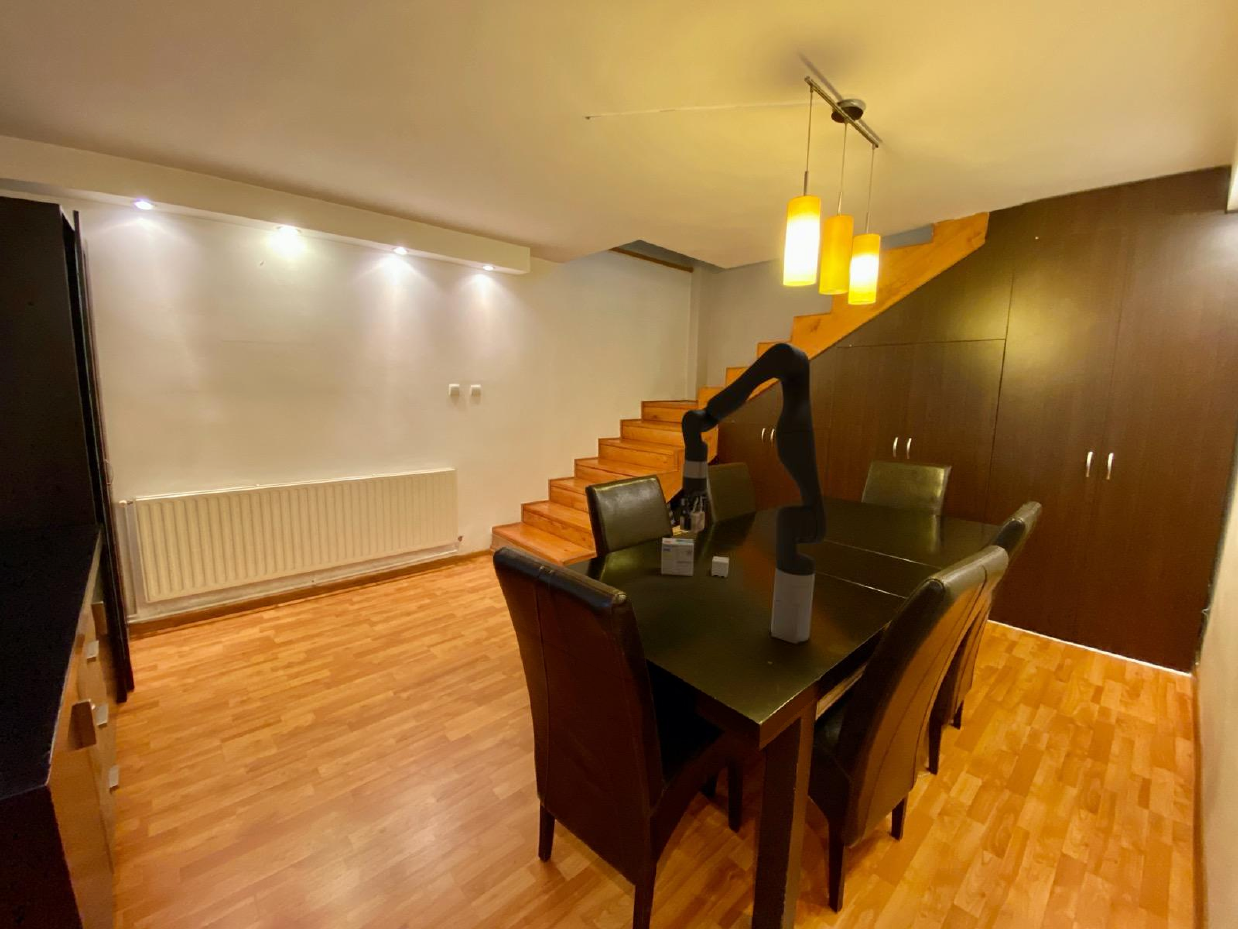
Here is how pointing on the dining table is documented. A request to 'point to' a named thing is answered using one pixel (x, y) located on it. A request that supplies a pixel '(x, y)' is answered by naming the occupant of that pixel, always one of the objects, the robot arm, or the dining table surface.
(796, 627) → the robot arm
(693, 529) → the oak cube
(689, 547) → the light bulb box
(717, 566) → the grey block
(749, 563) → the dining table surface
